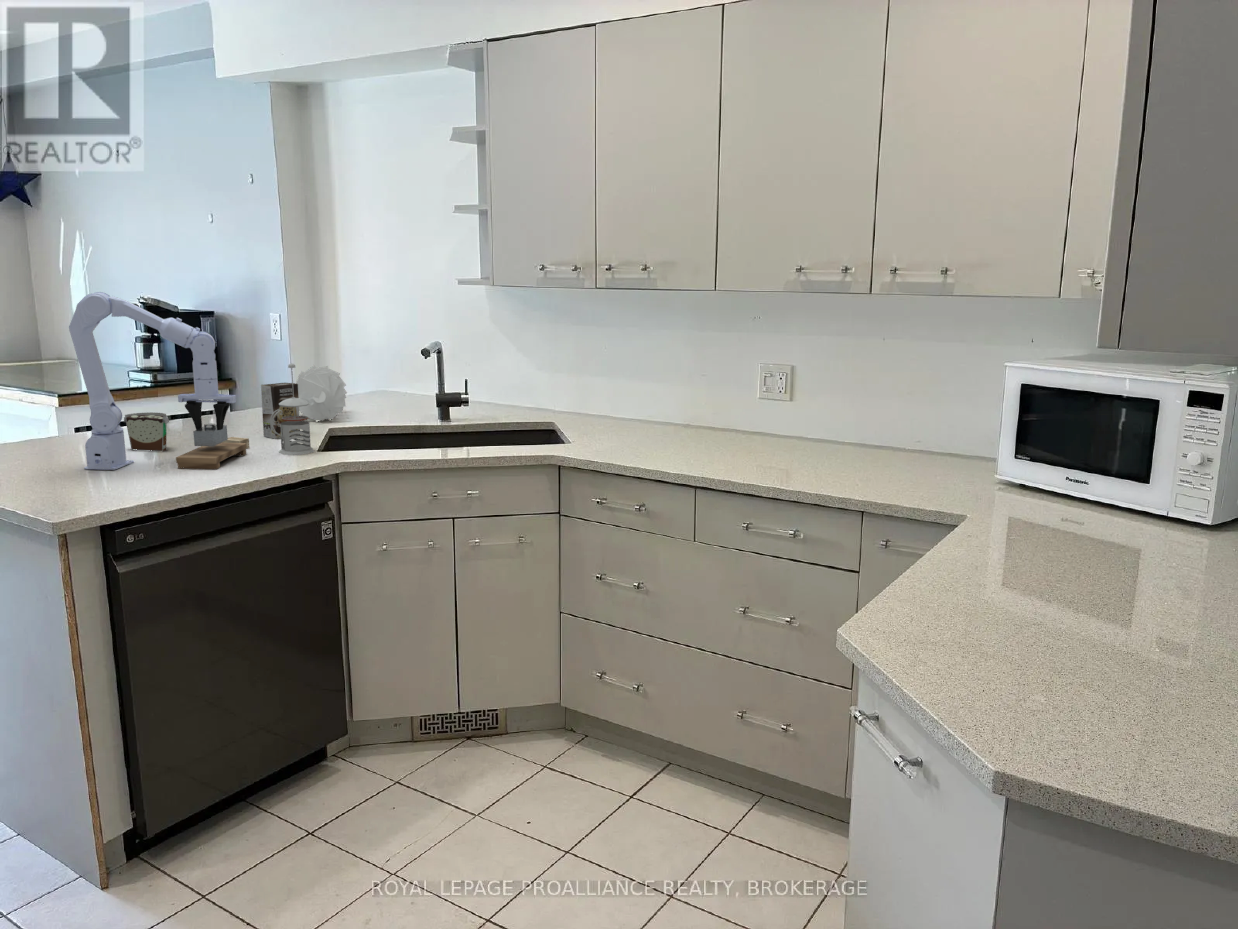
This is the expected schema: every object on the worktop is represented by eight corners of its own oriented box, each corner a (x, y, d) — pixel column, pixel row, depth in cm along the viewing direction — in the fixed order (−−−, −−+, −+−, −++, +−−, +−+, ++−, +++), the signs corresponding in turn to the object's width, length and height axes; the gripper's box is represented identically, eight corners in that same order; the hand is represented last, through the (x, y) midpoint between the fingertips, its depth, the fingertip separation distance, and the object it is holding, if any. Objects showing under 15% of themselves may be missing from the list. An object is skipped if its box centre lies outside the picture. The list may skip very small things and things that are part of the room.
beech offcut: (239, 451, 255) (238, 440, 254) (222, 449, 257) (221, 439, 256) (249, 448, 259) (248, 438, 258) (232, 447, 260) (231, 436, 260)
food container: (180, 447, 257) (177, 412, 255) (168, 451, 251) (164, 416, 249) (140, 445, 258) (136, 411, 256) (126, 450, 252) (123, 414, 250)
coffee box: (276, 439, 272) (272, 386, 268) (262, 436, 275) (259, 384, 272) (301, 435, 279) (298, 383, 276) (288, 432, 283) (285, 381, 279)
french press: (320, 452, 255) (316, 364, 250) (279, 457, 248) (274, 366, 242) (306, 446, 262) (301, 360, 257) (266, 451, 255) (260, 363, 249)
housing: (213, 446, 237) (212, 427, 236) (194, 446, 237) (192, 427, 236) (227, 439, 246) (226, 421, 245) (209, 439, 246) (207, 421, 245)
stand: (215, 469, 231) (214, 458, 231) (176, 468, 231) (175, 457, 231) (247, 453, 251) (246, 443, 250) (211, 452, 251) (210, 442, 250)
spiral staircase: (333, 423, 324) (335, 431, 300) (285, 403, 317) (283, 410, 294) (354, 376, 323) (357, 382, 300) (306, 355, 317) (305, 359, 294)
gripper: (239, 377, 241) (242, 427, 244) (185, 376, 241) (189, 426, 244) (228, 380, 234) (232, 431, 237) (172, 379, 234) (176, 430, 237)
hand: (209, 429), depth 240 cm, fingers closed on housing, 5 cm apart
